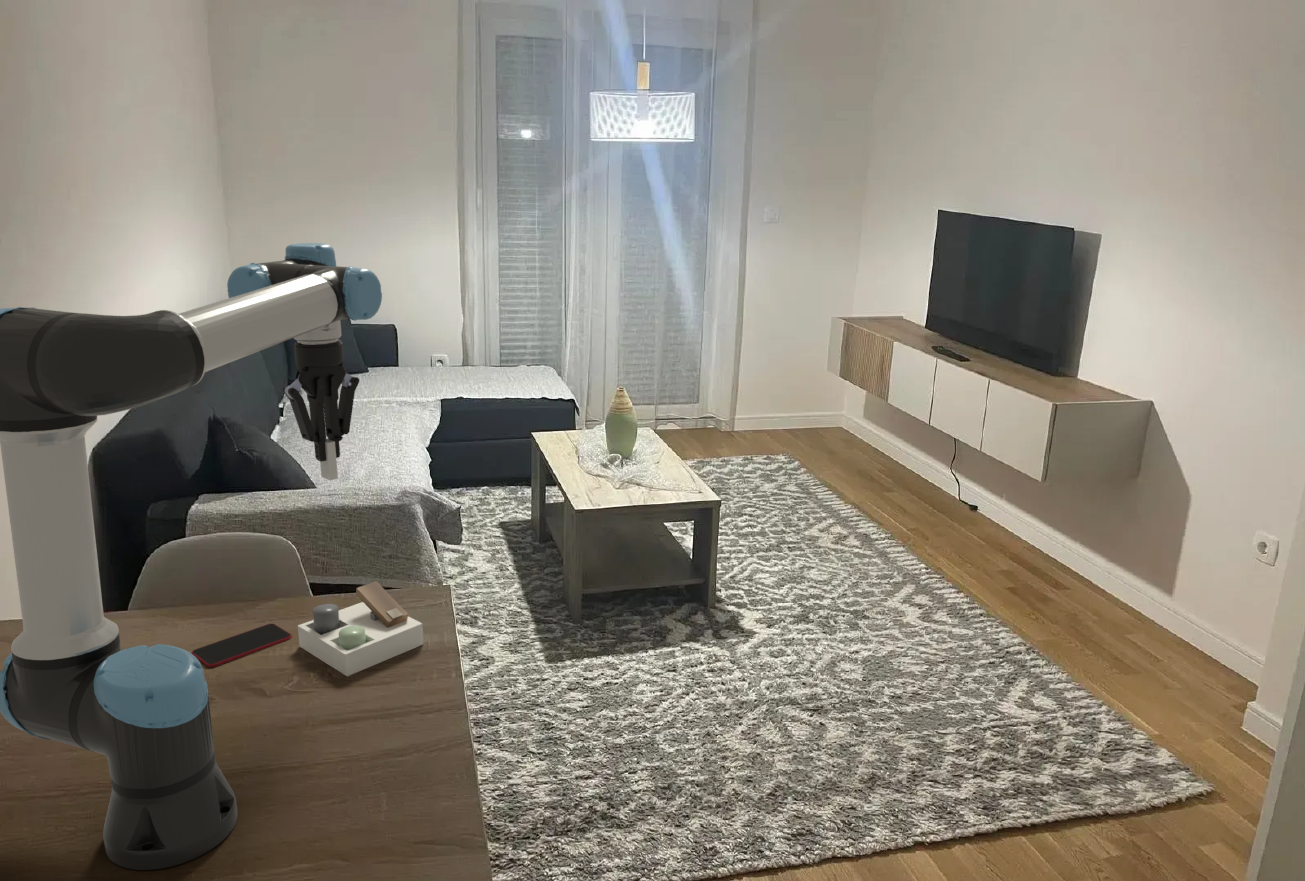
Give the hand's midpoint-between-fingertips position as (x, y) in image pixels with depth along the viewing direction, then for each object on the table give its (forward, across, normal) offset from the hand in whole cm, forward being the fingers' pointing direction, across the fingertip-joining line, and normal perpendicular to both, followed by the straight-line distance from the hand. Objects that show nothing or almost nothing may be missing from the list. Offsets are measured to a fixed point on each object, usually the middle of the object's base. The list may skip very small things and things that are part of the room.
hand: (329, 477), depth 166 cm
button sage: (+28, -4, -10) cm, 30 cm away
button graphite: (+26, -4, -2) cm, 27 cm away
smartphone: (+30, -14, +9) cm, 34 cm away
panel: (+29, 0, -6) cm, 30 cm away
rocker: (+23, +4, -6) cm, 24 cm away
